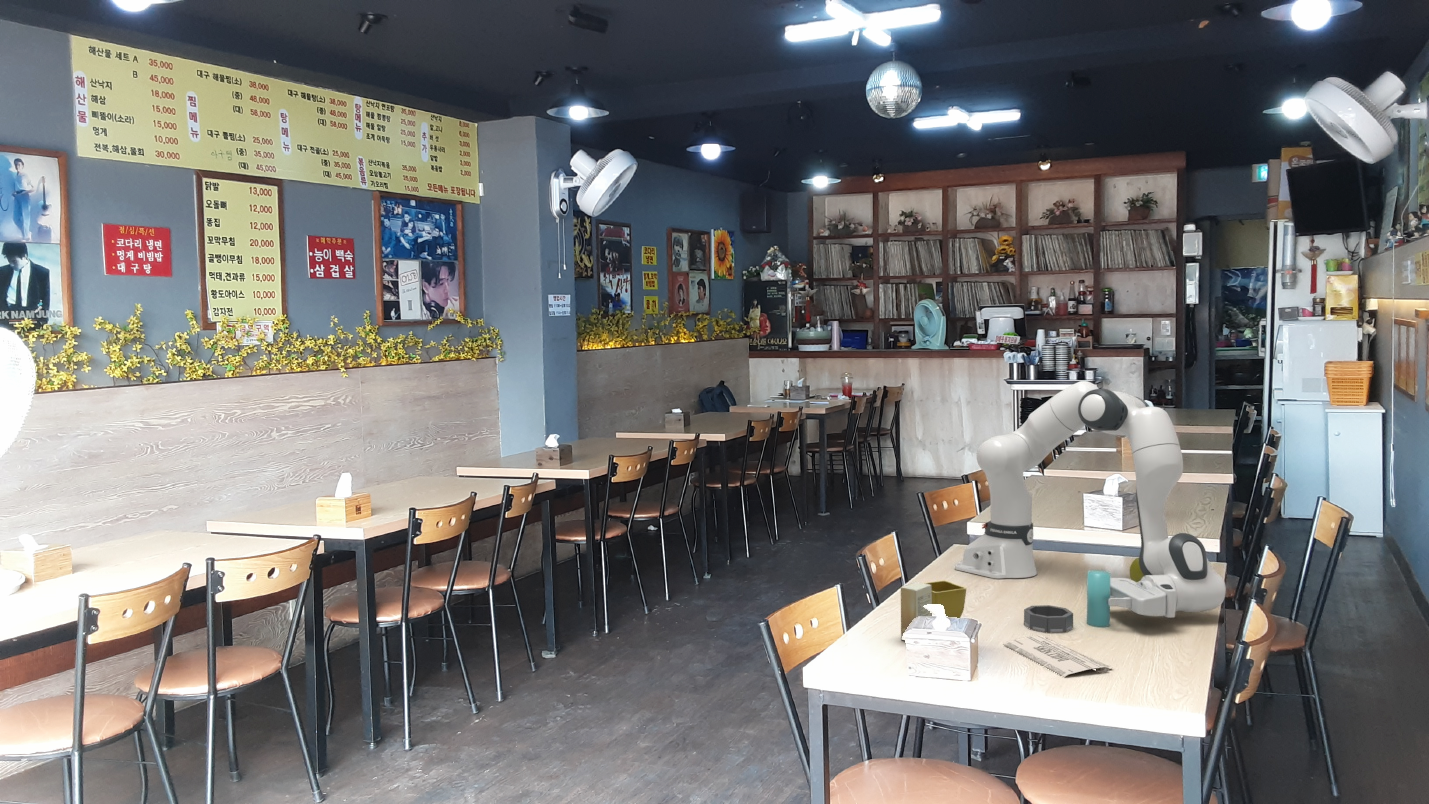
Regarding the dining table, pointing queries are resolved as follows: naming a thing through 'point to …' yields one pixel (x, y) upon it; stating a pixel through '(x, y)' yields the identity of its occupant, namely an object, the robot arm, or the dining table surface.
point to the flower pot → (949, 597)
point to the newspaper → (1054, 655)
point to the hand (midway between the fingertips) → (1098, 596)
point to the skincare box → (914, 602)
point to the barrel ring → (1048, 618)
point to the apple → (1136, 571)
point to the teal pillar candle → (1098, 598)
